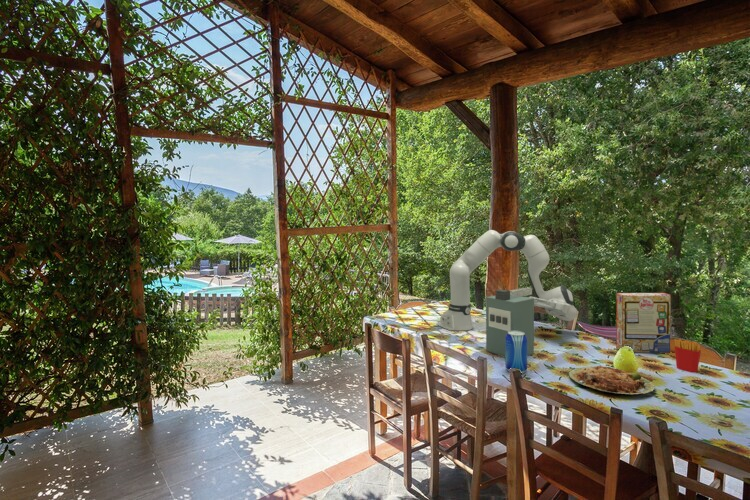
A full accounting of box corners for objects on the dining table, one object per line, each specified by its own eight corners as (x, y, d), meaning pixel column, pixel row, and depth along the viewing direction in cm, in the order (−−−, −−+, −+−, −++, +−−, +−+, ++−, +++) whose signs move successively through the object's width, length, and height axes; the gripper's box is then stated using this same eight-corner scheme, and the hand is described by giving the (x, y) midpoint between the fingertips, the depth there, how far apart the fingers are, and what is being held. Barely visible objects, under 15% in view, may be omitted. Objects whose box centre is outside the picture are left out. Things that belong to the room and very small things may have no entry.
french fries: (701, 371, 152) (702, 342, 151) (697, 374, 150) (698, 344, 149) (675, 365, 159) (676, 337, 159) (671, 367, 157) (672, 338, 156)
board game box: (663, 349, 179) (664, 292, 177) (670, 354, 173) (672, 295, 171) (615, 348, 182) (616, 292, 180) (621, 352, 176) (622, 294, 174)
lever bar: (495, 298, 177) (495, 290, 177) (524, 293, 189) (524, 285, 189) (504, 300, 173) (504, 291, 173) (533, 294, 185) (533, 286, 185)
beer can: (528, 375, 153) (529, 336, 152) (506, 374, 155) (506, 335, 153) (525, 367, 161) (525, 330, 160) (504, 366, 163) (504, 329, 162)
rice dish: (568, 367, 163) (567, 355, 163) (646, 375, 151) (646, 361, 151) (569, 394, 138) (569, 380, 138) (663, 406, 126) (663, 389, 126)
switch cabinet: (484, 351, 182) (483, 297, 181) (505, 344, 191) (504, 293, 189) (512, 360, 169) (512, 302, 167) (533, 353, 178) (533, 298, 176)
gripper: (539, 297, 208) (523, 290, 201) (574, 305, 190) (558, 298, 183) (535, 308, 207) (519, 302, 201) (570, 317, 190) (554, 311, 183)
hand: (538, 300), depth 192 cm, fingers open, 8 cm apart
